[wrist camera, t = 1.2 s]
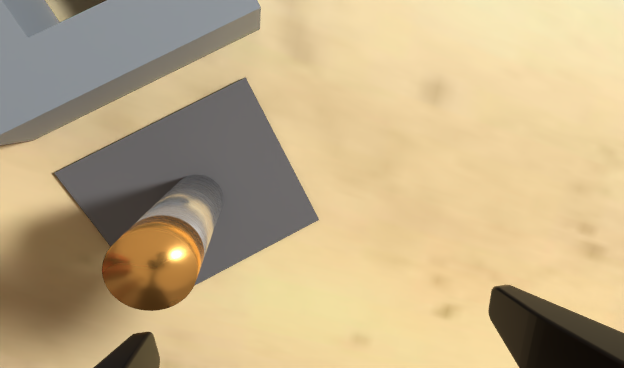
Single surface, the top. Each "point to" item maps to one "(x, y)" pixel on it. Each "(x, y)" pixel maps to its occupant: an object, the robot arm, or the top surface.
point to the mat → (199, 161)
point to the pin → (165, 247)
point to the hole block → (101, 54)
